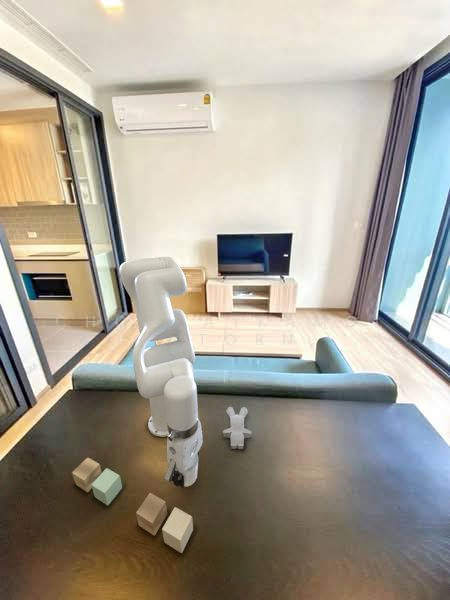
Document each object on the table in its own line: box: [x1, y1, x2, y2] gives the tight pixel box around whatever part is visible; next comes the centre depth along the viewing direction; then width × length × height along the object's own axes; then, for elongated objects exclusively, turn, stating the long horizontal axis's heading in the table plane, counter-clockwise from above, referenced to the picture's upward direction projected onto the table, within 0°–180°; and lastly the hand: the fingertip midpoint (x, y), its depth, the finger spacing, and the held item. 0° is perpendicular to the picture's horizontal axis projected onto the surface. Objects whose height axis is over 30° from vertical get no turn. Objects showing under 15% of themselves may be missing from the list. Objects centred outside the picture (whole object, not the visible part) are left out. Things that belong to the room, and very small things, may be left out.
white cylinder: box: [175, 453, 200, 487], centre depth 68 cm, size 7×7×7 cm
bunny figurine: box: [222, 406, 252, 450], centre depth 86 cm, size 10×5×15 cm
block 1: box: [71, 457, 103, 493], centre depth 71 cm, size 5×5×5 cm
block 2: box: [91, 467, 123, 506], centre depth 68 cm, size 5×5×5 cm
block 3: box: [135, 492, 168, 536], centre depth 62 cm, size 5×5×5 cm
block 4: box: [161, 506, 194, 554], centre depth 59 cm, size 5×5×5 cm
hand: (186, 470), depth 68 cm, fingers closed on white cylinder, 6 cm apart
